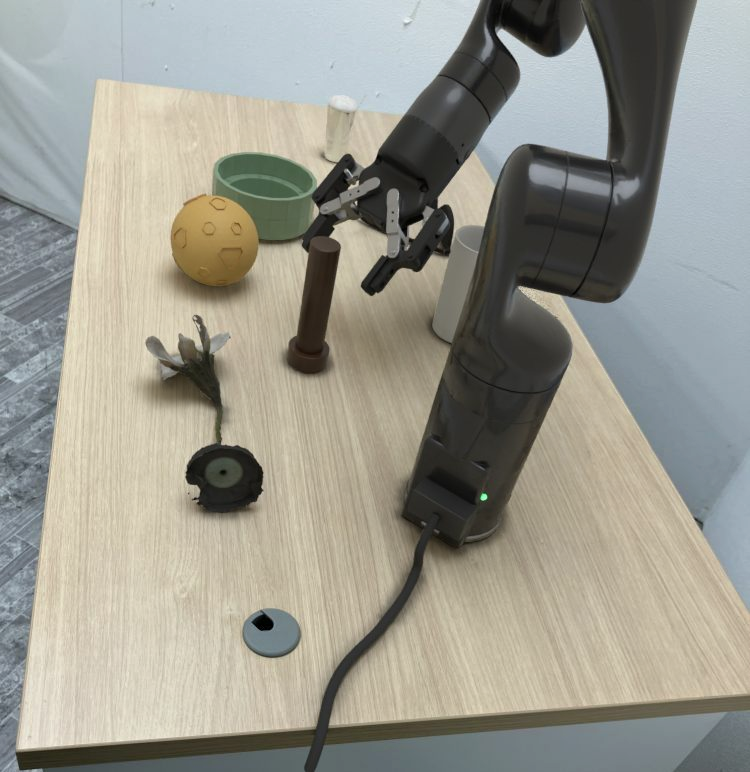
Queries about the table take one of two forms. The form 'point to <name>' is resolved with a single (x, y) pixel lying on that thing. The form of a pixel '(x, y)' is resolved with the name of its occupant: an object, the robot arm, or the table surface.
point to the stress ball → (214, 240)
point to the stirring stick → (315, 307)
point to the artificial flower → (215, 462)
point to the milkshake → (339, 126)
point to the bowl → (268, 192)
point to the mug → (457, 280)
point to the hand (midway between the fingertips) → (335, 271)
